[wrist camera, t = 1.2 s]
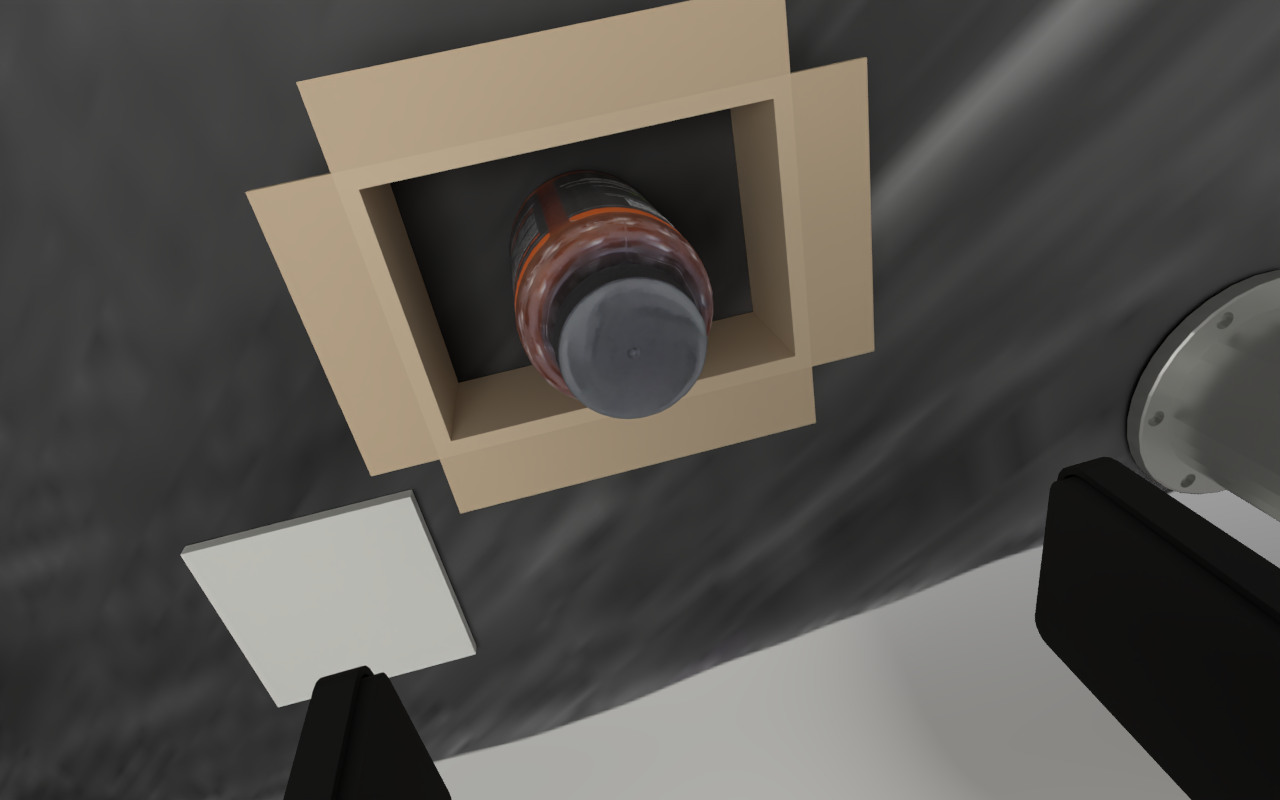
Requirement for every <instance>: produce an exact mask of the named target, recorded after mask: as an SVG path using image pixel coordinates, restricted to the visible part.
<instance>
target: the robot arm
mask: <svg viewBox="0 0 1280 800" xmlns="http://www.w3.org/2000/svg"><path fill="white" fill-rule="evenodd" d="M1127 439H1128V444H1129V448H1130V453H1131V455H1132V457H1133V458H1134V460H1135V462H1136V464H1137V466H1138V467H1139V468H1140V469H1141V470H1142V471H1143V472H1144V473H1145V474H1147V475H1148V476H1149V477H1150V478H1152V479H1154V480H1155V481H1157V482H1158V483H1160V484H1162V485H1163V486H1165V487H1166V488H1168V489H1171V490H1174V491H1177V492H1180V493H1190V494H1204V493H1213V492H1220V491H1223V490H1228V491H1230V492H1231V493H1233V494H1235V495H1236V496H1238V497H1240V498H1241V499H1243V500H1245V501H1246V502H1248V503H1250V504H1251V505H1253V506H1255V507H1256V508H1258V509H1259V510H1261V511H1263V512H1264V513H1266V514H1268V515H1269V516H1271V517H1273V518H1274V519H1276V520H1277V521H1279V522H1280V270H1275V271H1271V272H1267V273H1263V274H1259V275H1255V276H1253V277H1251V278H1248V279H1246V280H1244V281H1241V282H1239V283H1237V284H1234V285H1232V286H1230V287H1229V288H1227V289H1225V290H1224V291H1222V292H1221V293H1219V294H1217V295H1216V296H1214V297H1212V298H1211V299H1209V300H1208V301H1206V302H1205V303H1204V304H1203V305H1201V306H1200V307H1199V308H1198V309H1196V310H1195V311H1194V312H1193V313H1191V314H1190V315H1189V316H1187V317H1186V318H1185V319H1184V320H1183V321H1182V323H1181V324H1180V325H1179V326H1178V327H1177V328H1176V329H1175V330H1174V331H1173V332H1172V333H1171V334H1170V335H1169V336H1168V337H1167V338H1166V340H1165V341H1164V342H1163V344H1162V345H1161V346H1160V347H1159V349H1158V350H1157V351H1156V353H1155V354H1154V355H1153V357H1152V358H1151V360H1150V362H1149V363H1148V365H1147V367H1146V369H1145V370H1144V372H1143V374H1142V375H1141V377H1140V380H1139V382H1138V385H1137V387H1136V390H1135V392H1134V394H1133V397H1132V400H1131V405H1130V410H1129V414H1128V419H1127ZM1035 622H1036V626H1037V629H1038V631H1039V634H1040V635H1041V637H1042V639H1043V640H1044V641H1045V642H1046V644H1047V645H1048V646H1049V647H1050V648H1051V649H1052V650H1053V651H1054V653H1055V654H1056V655H1057V656H1058V657H1059V658H1060V659H1061V660H1062V661H1063V662H1064V663H1065V664H1066V665H1067V666H1068V667H1069V669H1070V670H1071V671H1072V672H1073V673H1074V674H1075V675H1076V676H1077V677H1078V678H1079V679H1080V680H1081V682H1082V683H1083V684H1084V685H1085V686H1086V687H1087V688H1088V689H1089V690H1090V691H1091V692H1092V693H1093V694H1094V695H1095V697H1096V698H1097V699H1098V700H1099V701H1100V702H1101V703H1102V704H1103V705H1104V706H1105V707H1106V708H1107V709H1108V711H1109V712H1110V713H1111V714H1112V715H1113V716H1114V717H1115V718H1116V719H1117V720H1118V721H1119V722H1120V723H1121V725H1122V726H1123V727H1124V728H1125V729H1126V730H1127V731H1128V732H1129V733H1130V734H1131V735H1132V736H1133V737H1134V738H1135V740H1136V741H1137V742H1138V743H1139V744H1140V745H1141V746H1142V747H1143V748H1144V749H1145V750H1146V751H1147V753H1148V754H1149V755H1150V756H1151V757H1152V758H1153V759H1154V760H1155V761H1156V762H1157V763H1158V764H1159V765H1160V767H1161V768H1162V769H1163V770H1164V771H1165V772H1166V773H1167V774H1168V775H1169V776H1170V777H1171V778H1172V779H1173V780H1174V782H1175V783H1176V784H1177V785H1178V786H1179V787H1180V788H1181V789H1182V790H1183V791H1184V792H1185V793H1186V794H1187V795H1188V797H1189V798H1190V799H1191V800H1280V568H1278V567H1277V566H1275V565H1274V564H1272V563H1271V562H1269V561H1268V560H1266V559H1265V558H1263V557H1262V556H1260V555H1258V554H1257V553H1256V552H1254V551H1253V550H1251V549H1250V548H1248V547H1246V546H1245V545H1244V544H1242V543H1241V542H1239V541H1238V540H1236V539H1234V538H1233V537H1231V536H1230V535H1228V534H1227V533H1225V532H1224V531H1222V530H1221V529H1219V528H1218V527H1216V526H1215V525H1213V524H1212V523H1210V522H1209V521H1207V520H1206V519H1204V518H1203V517H1201V516H1200V515H1198V514H1196V513H1195V512H1194V511H1192V510H1191V509H1189V508H1188V507H1186V506H1185V505H1183V504H1182V503H1180V502H1179V501H1177V500H1176V499H1174V498H1172V497H1171V496H1170V495H1168V494H1167V493H1165V492H1164V491H1162V490H1161V489H1159V488H1158V487H1156V486H1155V485H1153V484H1151V483H1150V482H1148V481H1147V480H1145V479H1144V478H1142V477H1141V476H1139V475H1138V474H1136V473H1135V472H1133V471H1132V470H1130V469H1129V468H1127V467H1126V466H1124V465H1123V464H1121V463H1120V462H1118V461H1116V460H1114V459H1112V458H1109V457H1101V458H1098V459H1094V460H1090V461H1087V462H1083V463H1080V464H1076V465H1073V466H1069V467H1066V468H1063V469H1062V470H1061V472H1060V473H1059V475H1058V479H1057V481H1056V482H1054V483H1053V484H1052V485H1051V488H1050V494H1049V502H1048V511H1047V519H1046V527H1045V536H1044V544H1043V553H1042V561H1041V570H1040V578H1039V587H1038V595H1037V603H1036V613H1035ZM283 800H451V796H450V794H449V791H448V789H447V788H446V786H445V784H444V782H443V780H442V778H441V776H440V774H439V772H438V771H437V768H436V767H435V765H434V763H433V761H432V759H431V757H430V755H429V753H428V751H427V750H426V748H425V746H424V744H423V742H422V740H421V738H420V736H419V734H418V732H417V731H416V729H415V727H414V725H413V723H412V721H411V719H410V717H409V715H408V713H407V712H406V710H405V708H404V706H403V704H402V702H401V700H400V698H399V696H398V694H397V693H396V691H395V689H394V687H393V685H392V683H391V681H390V679H389V678H388V676H387V675H386V674H385V673H384V672H382V673H378V674H375V675H374V673H373V672H372V671H371V669H370V668H369V667H367V666H366V665H365V666H360V667H357V668H353V669H350V670H346V671H343V672H339V673H336V674H332V675H329V676H325V677H321V678H320V679H319V680H318V681H317V682H316V684H315V686H314V689H313V692H312V696H311V700H310V703H309V707H308V711H307V714H306V718H305V722H304V725H303V729H302V733H301V736H300V740H299V744H298V747H297V751H296V755H295V759H294V762H293V766H292V770H291V773H290V777H289V781H288V784H287V788H286V792H285V795H284V799H283Z"/></svg>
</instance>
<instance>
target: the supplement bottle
mask: <svg viewBox="0 0 1280 800" xmlns="http://www.w3.org/2000/svg"><path fill="white" fill-rule="evenodd" d="M510 263H511V273H512V284H513V296H514V308H515V315H516V324H517V330H518V333H519V337H520V340H521V343H522V346H523V348H524V350H525V352H526V354H527V356H528V358H529V359H530V361H531V363H532V365H533V366H534V368H535V369H536V370H537V371H538V372H539V374H540V375H541V376H542V377H543V378H544V379H545V380H546V381H547V382H548V383H549V384H550V385H552V386H553V387H555V388H556V389H557V390H559V391H560V392H562V393H564V394H565V395H568V396H569V397H572V398H574V399H576V400H579V401H580V402H581V403H582V404H583V405H585V406H586V407H588V408H589V409H591V410H593V411H595V412H597V413H599V414H602V415H605V416H609V417H612V418H618V419H636V418H643V417H648V416H650V415H654V414H657V413H660V412H662V411H664V410H666V409H668V408H670V407H671V406H672V405H674V404H675V403H676V402H678V401H679V400H680V399H681V398H682V397H684V396H685V395H686V394H687V393H688V392H689V391H690V390H691V388H692V387H693V386H694V384H695V383H696V381H697V379H698V378H699V376H700V374H701V373H702V370H703V367H704V363H705V360H706V354H707V343H708V336H709V332H710V329H711V323H712V318H713V297H712V288H711V285H710V280H709V277H708V275H707V272H706V270H705V267H704V265H703V263H702V261H701V259H700V258H699V256H698V255H697V253H696V252H695V250H694V249H693V247H692V246H691V245H690V244H689V242H688V241H687V240H686V239H685V238H684V237H683V236H682V235H681V234H680V233H679V231H678V230H677V229H676V228H675V227H674V226H673V225H672V224H671V223H670V222H669V221H667V219H666V218H665V217H663V216H662V215H661V214H660V213H659V212H658V211H657V210H656V209H655V208H654V207H653V206H652V205H651V204H650V203H649V202H648V201H647V200H646V199H645V198H644V197H643V196H642V195H641V194H640V193H639V192H638V191H637V190H636V189H634V188H633V187H631V186H630V185H629V184H627V183H625V182H624V181H622V180H620V179H619V178H616V177H614V176H612V175H609V174H606V173H601V172H595V171H574V172H569V173H565V174H562V175H560V176H557V177H555V178H552V179H551V180H549V181H547V182H545V183H544V184H542V185H541V186H540V187H538V188H537V189H536V190H535V191H533V192H532V193H531V194H530V195H529V197H528V198H527V199H526V200H525V202H524V203H523V205H522V207H521V208H520V210H519V212H518V214H517V216H516V218H515V221H514V224H513V227H512V232H511V239H510Z"/></svg>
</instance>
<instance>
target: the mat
mask: <svg viewBox="0 0 1280 800" xmlns="http://www.w3.org/2000/svg"><path fill="white" fill-rule="evenodd" d="M180 555H181V557H182V558H183V560H184V561H185V563H186V565H187V566H188V568H189V569H190V571H191V572H192V574H193V575H194V577H195V579H196V580H197V582H198V583H199V585H200V586H201V588H202V590H203V591H204V593H205V594H206V596H207V597H208V599H209V600H210V602H211V604H212V605H213V607H214V608H215V610H216V611H217V613H218V614H219V616H220V618H221V619H222V621H223V622H224V624H225V625H226V627H227V628H228V630H229V632H230V633H231V635H232V636H233V638H234V639H235V641H236V643H237V644H238V646H239V647H240V649H241V650H242V652H243V653H244V655H245V657H246V658H247V660H248V661H249V663H250V664H251V666H252V667H253V669H254V671H255V672H256V674H257V675H258V677H259V678H260V680H261V681H262V683H263V685H264V686H265V688H266V689H267V691H268V692H269V694H270V696H271V697H272V699H273V700H274V702H275V703H276V705H277V706H278V707H282V706H285V705H289V704H293V703H297V702H300V701H304V700H308V699H311V696H312V692H313V689H314V686H315V684H316V682H317V681H318V680H319V679H320V678H321V677H325V676H329V675H332V674H336V673H339V672H343V671H346V670H350V669H353V668H357V667H360V666H365V665H366V666H367V667H369V668H370V669H371V671H372V672H373V673H374V675H375V674H378V673H382V672H384V673H385V674H386V675H387V676H388V678H389V677H393V676H397V675H400V674H404V673H408V672H411V671H415V670H419V669H422V668H426V667H430V666H434V665H437V664H441V663H445V662H448V661H452V660H456V659H460V658H463V657H467V656H471V655H474V654H476V643H475V641H474V639H473V636H472V634H471V631H470V629H469V627H468V624H467V622H466V619H465V617H464V614H463V612H462V610H461V607H460V605H459V602H458V600H457V597H456V595H455V593H454V590H453V588H452V585H451V583H450V581H449V578H448V576H447V573H446V571H445V568H444V566H443V564H442V561H441V559H440V556H439V554H438V552H437V549H436V547H435V544H434V542H433V539H432V537H431V535H430V532H429V530H428V527H427V525H426V523H425V520H424V518H423V515H422V513H421V510H420V508H419V506H418V503H417V501H416V498H415V496H414V494H413V491H412V489H411V490H407V491H403V492H399V493H395V494H391V495H387V496H383V497H379V498H375V499H371V500H367V501H363V502H359V503H355V504H351V505H347V506H343V507H339V508H335V509H331V510H327V511H323V512H319V513H315V514H311V515H307V516H303V517H299V518H295V519H291V520H287V521H283V522H279V523H275V524H272V525H268V526H264V527H260V528H256V529H252V530H248V531H244V532H240V533H236V534H232V535H228V536H224V537H220V538H216V539H212V540H208V541H204V542H200V543H196V544H192V545H188V546H185V548H184V550H183V551H182V553H181V554H180Z"/></svg>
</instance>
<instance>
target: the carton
mask: <svg viewBox="0 0 1280 800" xmlns="http://www.w3.org/2000/svg"><path fill="white" fill-rule="evenodd" d="M296 83H297V86H298V88H299V91H300V94H301V96H302V99H303V101H304V104H305V107H306V109H307V112H308V115H309V117H310V120H311V122H312V125H313V128H314V130H315V133H316V136H317V138H318V141H319V143H320V146H321V149H322V151H323V154H324V157H325V159H326V162H327V164H328V167H329V170H330V172H331V173H326V174H322V175H317V176H313V177H308V178H303V179H299V180H294V181H290V182H285V183H280V184H276V185H271V186H267V187H262V188H257V189H253V190H248V191H247V192H246V195H247V197H248V199H249V201H250V204H251V206H252V208H253V210H254V213H255V215H256V217H257V220H258V222H259V224H260V226H261V229H262V231H263V233H264V235H265V238H266V240H267V242H268V244H269V247H270V249H271V251H272V253H273V256H274V258H275V260H276V262H277V265H278V267H279V269H280V271H281V274H282V276H283V278H284V281H285V283H286V285H287V287H288V290H289V292H290V294H291V296H292V299H293V301H294V303H295V305H296V308H297V310H298V312H299V314H300V317H301V319H302V321H303V323H304V326H305V328H306V330H307V332H308V335H309V337H310V339H311V342H312V344H313V346H314V348H315V351H316V353H317V355H318V357H319V360H320V362H321V364H322V366H323V369H324V371H325V373H326V375H327V378H328V380H329V382H330V384H331V387H332V389H333V391H334V393H335V396H336V398H337V400H338V403H339V405H340V407H341V409H342V412H343V414H344V416H345V418H346V421H347V423H348V425H349V427H350V430H351V432H352V434H353V436H354V439H355V441H356V443H357V445H358V448H359V450H360V452H361V454H362V457H363V459H364V461H365V464H366V466H367V468H368V470H369V473H370V475H371V476H374V475H378V474H382V473H386V472H390V471H394V470H398V469H403V468H407V467H411V466H415V465H419V464H423V463H427V462H431V461H435V460H439V459H440V461H441V464H442V466H443V469H444V472H445V474H446V477H447V480H448V482H449V485H450V487H451V490H452V493H453V495H454V498H455V501H456V503H457V506H458V508H459V511H460V514H461V513H464V512H468V511H472V510H476V509H480V508H484V507H488V506H492V505H496V504H500V503H504V502H508V501H512V500H515V499H519V498H523V497H527V496H531V495H535V494H539V493H543V492H547V491H551V490H555V489H559V488H562V487H566V486H570V485H574V484H578V483H582V482H586V481H590V480H594V479H598V478H602V477H606V476H610V475H613V474H617V473H621V472H625V471H629V470H633V469H637V468H641V467H645V466H649V465H653V464H657V463H660V462H664V461H668V460H672V459H676V458H680V457H684V456H688V455H692V454H696V453H700V452H704V451H708V450H711V449H715V448H719V447H723V446H727V445H731V444H735V443H739V442H743V441H747V440H751V439H755V438H758V437H762V436H766V435H770V434H774V433H778V432H782V431H786V430H790V429H794V428H798V427H802V426H805V425H809V424H813V423H816V417H815V403H814V390H813V376H812V366H816V365H820V364H824V363H828V362H832V361H836V360H840V359H844V358H848V357H852V356H856V355H860V354H864V353H868V352H872V351H874V315H873V276H872V237H871V197H870V158H869V118H868V79H867V57H861V58H856V59H851V60H847V61H842V62H838V63H833V64H828V65H824V66H819V67H815V68H810V69H805V70H801V71H796V72H792V73H790V61H789V47H788V33H787V20H786V6H785V0H690V1H686V2H681V3H676V4H671V5H666V6H661V7H657V8H652V9H647V10H642V11H637V12H633V13H628V14H623V15H618V16H613V17H608V18H604V19H599V20H594V21H589V22H584V23H579V24H575V25H570V26H565V27H560V28H555V29H550V30H546V31H541V32H536V33H531V34H526V35H522V36H517V37H512V38H507V39H502V40H497V41H493V42H488V43H483V44H478V45H473V46H468V47H464V48H459V49H454V50H449V51H444V52H440V53H435V54H430V55H425V56H420V57H415V58H411V59H406V60H401V61H396V62H391V63H386V64H382V65H377V66H372V67H367V68H362V69H358V70H353V71H348V72H343V73H338V74H333V75H329V76H324V77H319V78H314V79H309V80H304V81H300V82H296ZM729 108H730V112H731V120H732V129H733V138H734V147H735V156H736V165H737V174H738V183H739V191H740V200H741V209H742V218H743V227H744V236H745V245H746V254H747V262H748V271H749V280H750V289H751V298H752V307H753V312H750V313H745V314H741V315H737V316H733V317H729V318H725V319H721V320H716V321H712V323H711V329H710V332H709V336H708V343H707V354H706V360H705V363H704V367H703V370H702V373H701V374H700V376H699V378H698V379H697V381H696V383H695V384H694V386H693V387H692V388H691V390H690V391H689V392H688V393H687V394H686V395H685V396H684V397H682V398H681V399H680V400H679V401H678V402H676V403H675V404H674V405H672V406H671V407H670V408H668V409H666V410H664V411H662V412H660V413H657V414H654V415H650V416H648V417H643V418H636V419H618V418H612V417H609V416H605V415H602V414H599V413H597V412H595V411H593V410H591V409H589V408H588V407H586V406H585V405H583V404H582V403H581V402H580V401H579V400H576V399H574V398H572V397H569V396H568V395H565V394H564V393H562V392H560V391H559V390H557V389H556V388H555V387H553V386H552V385H550V384H549V383H548V382H547V381H546V380H545V379H544V378H543V377H542V376H541V375H540V374H539V372H538V371H537V370H536V369H535V368H534V366H533V365H530V366H526V367H522V368H518V369H514V370H510V371H505V372H501V373H497V374H493V375H489V376H485V377H481V378H476V379H472V380H468V381H464V382H460V383H458V380H457V377H456V374H455V371H454V368H453V366H452V363H451V360H450V357H449V354H448V351H447V348H446V345H445V342H444V339H443V337H442V334H441V331H440V328H439V325H438V322H437V319H436V316H435V313H434V310H433V307H432V305H431V302H430V299H429V296H428V293H427V290H426V287H425V284H424V281H423V278H422V276H421V273H420V270H419V267H418V264H417V261H416V258H415V255H414V252H413V249H412V246H411V244H410V241H409V238H408V235H407V232H406V229H405V226H404V223H403V220H402V217H401V215H400V212H399V209H398V206H397V203H396V200H395V197H394V194H393V191H392V188H391V185H390V183H391V182H396V181H401V180H405V179H410V178H414V177H419V176H423V175H428V174H432V173H437V172H442V171H446V170H451V169H455V168H460V167H464V166H469V165H473V164H478V163H483V162H487V161H492V160H496V159H501V158H505V157H510V156H514V155H519V154H524V153H528V152H533V151H537V150H542V149H546V148H551V147H555V146H560V145H565V144H569V143H574V142H578V141H583V140H587V139H592V138H596V137H601V136H606V135H610V134H615V133H619V132H624V131H628V130H633V129H637V128H642V127H647V126H651V125H656V124H660V123H665V122H669V121H674V120H678V119H683V118H688V117H692V116H697V115H701V114H706V113H710V112H715V111H719V110H724V109H729Z"/></svg>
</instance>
